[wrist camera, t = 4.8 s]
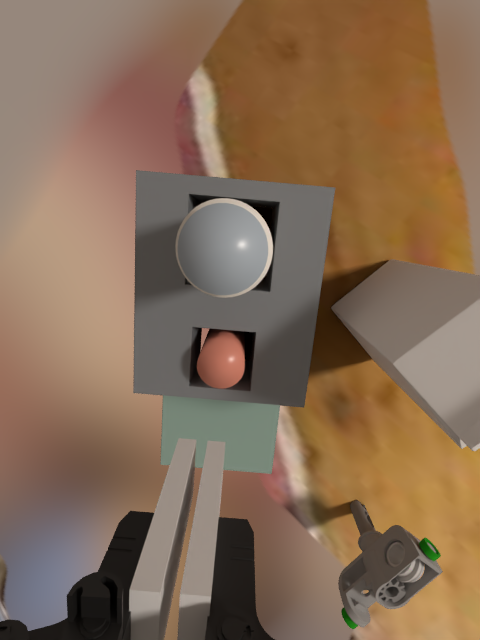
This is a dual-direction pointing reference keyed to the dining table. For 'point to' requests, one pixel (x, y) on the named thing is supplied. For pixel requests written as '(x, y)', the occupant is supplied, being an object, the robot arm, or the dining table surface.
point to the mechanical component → (384, 569)
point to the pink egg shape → (222, 358)
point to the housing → (233, 312)
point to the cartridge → (224, 247)
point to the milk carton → (424, 339)
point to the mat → (222, 431)
